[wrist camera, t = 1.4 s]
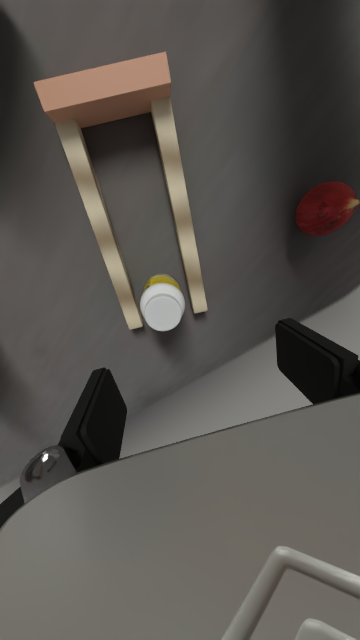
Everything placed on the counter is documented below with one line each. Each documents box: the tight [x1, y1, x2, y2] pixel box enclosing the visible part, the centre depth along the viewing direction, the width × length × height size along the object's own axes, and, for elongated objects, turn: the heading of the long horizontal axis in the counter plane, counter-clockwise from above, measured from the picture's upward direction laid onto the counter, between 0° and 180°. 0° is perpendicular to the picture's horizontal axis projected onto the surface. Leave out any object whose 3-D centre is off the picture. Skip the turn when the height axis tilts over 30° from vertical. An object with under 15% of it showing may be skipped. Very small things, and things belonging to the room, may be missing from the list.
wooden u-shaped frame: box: [33, 52, 207, 330], centre depth 25 cm, size 26×12×4 cm, turn 13°
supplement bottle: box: [140, 274, 185, 331], centre depth 26 cm, size 5×5×10 cm
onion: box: [296, 181, 360, 236], centre depth 24 cm, size 6×6×8 cm
